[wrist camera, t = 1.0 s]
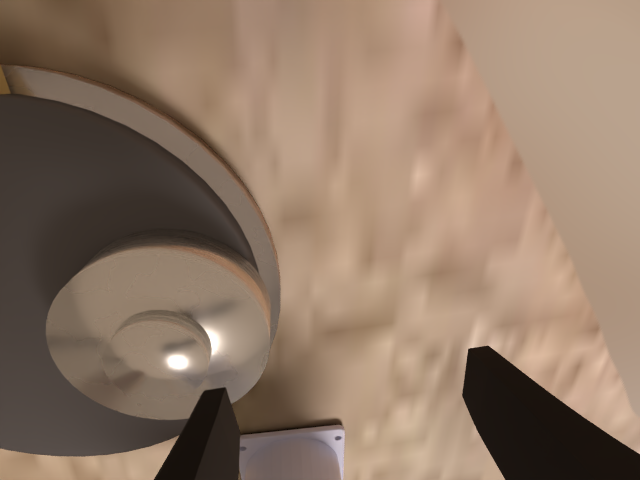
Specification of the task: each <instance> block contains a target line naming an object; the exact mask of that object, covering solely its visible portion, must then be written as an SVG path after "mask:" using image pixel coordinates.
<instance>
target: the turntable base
mask: <svg viewBox="0 0 640 480" xmlns="http://www.w3.org/2000/svg"><path fill="white" fill-rule="evenodd" d="M1 68H2V70H3V73H4V76H5V79H6V81H7V84H8V87H9V90H10V92H11V94H22V95H28V96H34V97H39V98H45V99H51V100H56V101H60V102H63V103H67V104H70V105H73V106H77V107H80V108H83V109H87V110H90V111H93V112H95V113H98V114H100V115H103V116H105V117H107V118H110V119H112V120H114V121H117V122H119V123H122V124H124V125H126V126H128V127H130V128H132V129H133V130H135V131H137V132H139V133H141V134H142V135H144V136H146V137H148V138H150V139H151V140H153V141H155V142H157V143H158V144H159V145H161V146H162V147H164V148H165V149H166V150H168V151H169V152H171V153H172V154H173V155H175V156H176V157H178V158H179V159H180V160H182V161H183V162H184V163H185V164H187V165H188V166H189V167H190V168H191V169H192V170H193V171H194V172H195V173H197V174H198V175H199V176H200V177H201V178H202V179H203V180H204V181H206V182H207V184H208V185H209V186H210V187H211V188H212V189H213V190H214V192H215V193H216V194H217V195H218V196H219V197H220V198H221V200H222V201H223V202H224V203H225V204H226V206H227V207H228V209H229V210H230V212H231V213H232V215H233V216H234V217H235V219H236V220H237V222H238V223H239V225H240V227H241V229H242V231H243V233H244V235H245V237H246V238H247V240H248V242H249V244H250V246H251V249H252V252H253V255H254V258H255V261H256V264H257V267H258V271H259V275H260V276H261V278H262V280H263V282H264V284H265V285H266V288H267V291H268V294H269V298H270V304H271V322H270V348H271V345H272V342H273V339H274V336H275V333H276V330H277V325H278V319H279V313H280V272H279V265H278V258H277V253H276V250H275V246H274V243H273V240H272V236H271V233H270V230H269V228H268V226H267V224H266V222H265V219H264V217H263V215H262V213H261V211H260V209H259V207H258V205H257V204H256V202H255V201H254V199H253V198H252V196H251V194H250V193H249V191H248V190H247V188H246V187H245V185H244V184H243V183H242V181H241V180H240V179H239V178H238V177H237V175H236V174H235V173H234V172H233V170H232V169H231V168H230V167H229V166H228V164H227V163H226V162H225V161H224V160H223V159H222V158H221V157H220V156H219V155H218V154H217V153H215V152H214V151H213V150H212V149H211V148H210V147H209V146H208V145H207V144H206V143H205V142H204V141H203V140H202V139H200V138H199V137H198V136H196V135H195V134H194V133H192V132H191V131H190V130H188V129H187V128H186V127H184V126H183V125H182V124H180V123H179V122H178V121H176V120H175V119H174V118H172V117H170V116H168V115H167V114H165V113H163V112H162V111H160V110H158V109H157V108H155V107H153V106H151V105H150V104H148V103H146V102H145V101H143V100H141V99H138V98H136V97H134V96H132V95H129V94H127V93H125V92H123V91H120V90H118V89H116V88H114V87H111V86H109V85H106V84H103V83H100V82H96V81H93V80H90V79H87V78H84V77H81V76H77V75H74V74H70V73H65V72H60V71H54V70H49V69H44V68H38V67H32V66H15V65H1Z"/></svg>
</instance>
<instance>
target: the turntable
mask: <svg viewBox="0 0 640 480" xmlns="http://www.w3.org/2000/svg"><path fill="white" fill-rule="evenodd" d="M151 229H180V230H188V231H192V232H197V233H201V234H204V235H207V236H209V237H212V238H215V239H217V240H219V241H221V242H223V243H225V244H227V245H228V246H230V247H231V248H233V249H235V250H236V251H238V252H239V253H240V254H241V255H242V256H244V257H245V258H246V259H247V260H248V261H249V262H250V263H251V264H252V265H253V266H254V267H255V269H256V270H257V272H258V273H259V271H258V267H257V264H256V261H255V258H254V255H253V252H252V249H251V246H250V244H249V242H248V240H247V238H246V237H245V235H244V233H243V231H242V229H241V227H240V225H239V223H238V222H237V220H236V219H235V217H234V216H233V215H232V213H231V212H230V210H229V209H228V207H227V206H226V204H225V203H224V202H223V201H222V200H221V198H220V197H219V196H218V195H217V194H216V193H215V192H214V190H213V189H212V188H211V187H210V186H209V185H208V184H207V182H206V181H204V180H203V179H202V178H201V177H200V176H199V175H198V174H197V173H195V172H194V171H193V170H192V169H191V168H190V167H189V166H188V165H187V164H185V163H184V162H183V161H182V160H180V159H179V158H178V157H176V156H175V155H173V154H172V153H171V152H169V151H168V150H166V149H165V148H164V147H162V146H161V145H159V144H158V143H157V142H155V141H153V140H151V139H150V138H148V137H146V136H144V135H142V134H141V133H139V132H137V131H135V130H133V129H132V128H130V127H128V126H126V125H124V124H122V123H119V122H117V121H114V120H112V119H110V118H107V117H105V116H103V115H100V114H98V113H95V112H93V111H90V110H87V109H83V108H80V107H77V106H73V105H70V104H67V103H63V102H60V101H56V100H51V99H45V98H39V97H34V96H28V95H22V94H11V92H10V90H9V87H8V84H7V81H6V79H5V76H4V73H3V70H2V68H1V65H0V448H1V449H6V450H11V451H17V452H24V453H30V454H39V455H51V456H96V455H108V454H115V453H121V452H128V451H132V450H137V449H141V448H145V447H149V446H152V445H155V444H158V443H161V442H164V441H167V440H170V439H172V438H174V437H176V436H178V435H180V434H181V432H182V430H183V428H184V426H185V425H186V423H187V421H188V419H189V418H188V419H178V420H156V419H148V418H141V417H136V416H131V415H128V414H124V413H121V412H118V411H115V410H113V409H110V408H108V407H105V406H103V405H101V404H99V403H97V402H95V401H94V400H92V399H90V398H89V397H87V396H86V395H84V394H83V393H82V392H80V391H79V390H78V389H77V388H75V387H74V386H73V385H72V384H71V383H70V382H69V381H68V380H67V379H66V378H65V377H64V375H63V374H62V373H61V372H60V370H59V369H58V368H57V366H56V364H55V362H54V360H53V358H52V356H51V354H50V351H49V348H48V344H47V339H46V321H47V316H48V312H49V309H50V307H51V305H52V302H53V300H54V299H55V297H56V296H57V294H58V293H59V291H60V290H61V289H62V288H63V287H64V286H65V285H66V284H67V283H68V282H69V281H70V280H71V279H72V278H73V277H74V276H75V275H76V274H77V273H78V272H79V271H80V270H81V269H82V268H83V267H84V266H85V265H86V264H87V263H88V262H89V261H90V260H91V259H92V258H93V257H94V256H95V255H96V254H97V253H98V252H99V251H100V250H102V249H103V248H104V247H106V246H107V245H108V244H110V243H112V242H114V241H115V240H117V239H119V238H121V237H124V236H127V235H129V234H132V233H136V232H140V231H144V230H151Z"/></svg>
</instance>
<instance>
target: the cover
mask: <svg viewBox="0 0 640 480" xmlns="http://www.w3.org/2000/svg"><path fill="white" fill-rule="evenodd" d="M270 322H271V304H270V298H269V294H268V291H267V288H266V285H265V284H264V282H263V280H262V278H261V276H260V275H259V273H258V272H257V270H256V269H255V267H254V266H253V265H252V264H251V263H250V262H249V261H248V260H247V259H246V258H245V257H244V256H242V255H241V254H240V253H239V252H238V251H236V250H235V249H233V248H231V247H230V246H228V245H227V244H225V243H223V242H221V241H219V240H217V239H215V238H212V237H209V236H207V235H204V234H201V233H197V232H192V231H188V230H180V229H151V230H144V231H140V232H136V233H132V234H129V235H127V236H124V237H121V238H119V239H117V240H115V241H114V242H112V243H110V244H108V245H107V246H106V247H104V248H103V249H102V250H100V251H99V252H98V253H97V254H96V255H95V256H94V257H93V258H92V259H91V260H90V261H89V262H88V263H87V264H86V265H85V266H84V267H83V268H82V269H81V270H80V271H79V272H78V273H77V274H76V275H75V276H74V277H73V278H72V279H71V280H70V281H69V282H68V283H67V284H66V285H65V286H64V287H63V288H62V289H61V290H60V291H59V293H58V294H57V296H56V297H55V299H54V300H53V302H52V305H51V307H50V309H49V312H48V316H47V321H46V339H47V344H48V348H49V351H50V354H51V356H52V358H53V360H54V362H55V364H56V366H57V368H58V369H59V370H60V372H61V373H62V374H63V375H64V377H65V378H66V379H67V380H68V381H69V382H70V383H71V384H72V385H73V386H74V387H75V388H77V389H78V390H79V391H80V392H82V393H83V394H84V395H86V396H87V397H89V398H90V399H92V400H94V401H95V402H97V403H99V404H101V405H103V406H105V407H108V408H110V409H113V410H115V411H118V412H121V413H124V414H128V415H131V416H136V417H141V418H148V419H156V420H178V419H188V418H189V417H190V415H191V413H192V411H193V409H194V407H195V406H196V404H197V402H198V400H199V398H200V396H201V394H202V393H203V392H204V390H210V389H216V388H223V387H226V389H227V392H228V396H229V399H230V402H231V404H232V403H234V402H236V401H237V400H239V399H240V398H241V397H243V396H244V395H245V394H247V393H248V392H249V390H250V389H251V388H252V387H253V386H254V385H255V384H256V383H257V381H258V380H259V379H260V377H261V375H262V373H263V371H264V370H265V367H266V364H267V361H268V357H269V351H270Z"/></svg>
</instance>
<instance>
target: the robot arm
mask: <svg viewBox="0 0 640 480" xmlns="http://www.w3.org/2000/svg"><path fill="white" fill-rule="evenodd" d="M462 396H463V399H464V401H465V404H466V406H467V408H468V411H469V413H470V415H471V418H472V420H473V422H474V424H475V426H476V429H477V431H478V433H479V434H480V436H481V438H482V440H483V442H484V443H485V445H486V447H487V449H488V450H489V452H490V454H491V456H492V457H493V459H494V461H495V463H496V464H497V466H498V468H499V470H500V471H501V473H502V475H503V476H504V478H505V480H640V454H638V453H637V452H635V451H634V450H632V449H630V448H629V447H627V446H626V445H624V444H623V443H621V442H619V441H618V440H616V439H615V438H613V437H612V436H610V435H609V434H607V433H606V432H604V431H603V430H601V429H600V428H598V427H597V426H596V425H594V424H593V423H591V422H590V421H588V420H587V419H585V418H584V417H582V416H581V415H580V414H578V413H577V412H575V411H574V410H572V409H571V408H570V407H568V406H567V405H565V404H564V403H563V402H561V401H560V400H559V399H557V398H556V397H555V396H553V395H552V394H550V393H549V392H548V391H546V390H545V389H544V388H542V387H541V386H540V385H538V384H537V383H536V382H535V381H533V380H532V379H531V378H529V377H528V376H527V375H525V374H524V373H523V372H522V371H520V370H519V369H518V368H516V367H515V366H514V365H513V364H511V363H510V362H509V361H507V360H506V359H505V358H504V357H502V356H501V355H500V354H498V353H497V352H496V351H495V350H493V349H492V348H491V347H489V346H483V347H477V348H470V349H468V356H467V363H466V371H465V379H464V386H463V394H462ZM344 440H345V431H344V427H343V426H341V425H331V426H322V427H312V428H303V429H294V430H284V431H275V432H266V433H256V434H247V435H240V430H239V427H238V424H237V421H236V418H235V414H234V411H233V408H232V405H231V402H230V399H229V396H228V392H227V389H226V387H223V388H216V389H210V390H204V392H203V393H202V394H201V396H200V398H199V400H198V402H197V404H196V406H195V407H194V409H193V411H192V413H191V415H190V417H189V419H188V421H187V423H186V425H185V426H184V428H183V430H182V432H181V434H180V436H179V437H178V439H177V441H176V443H175V445H174V446H173V448H172V450H171V451H170V453H169V455H168V457H167V458H166V460H165V462H164V463H163V465H162V467H161V469H160V470H159V472H158V474H157V475H156V477H155V479H154V480H238V474H239V469H240V474H241V480H343V468H344Z"/></svg>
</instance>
